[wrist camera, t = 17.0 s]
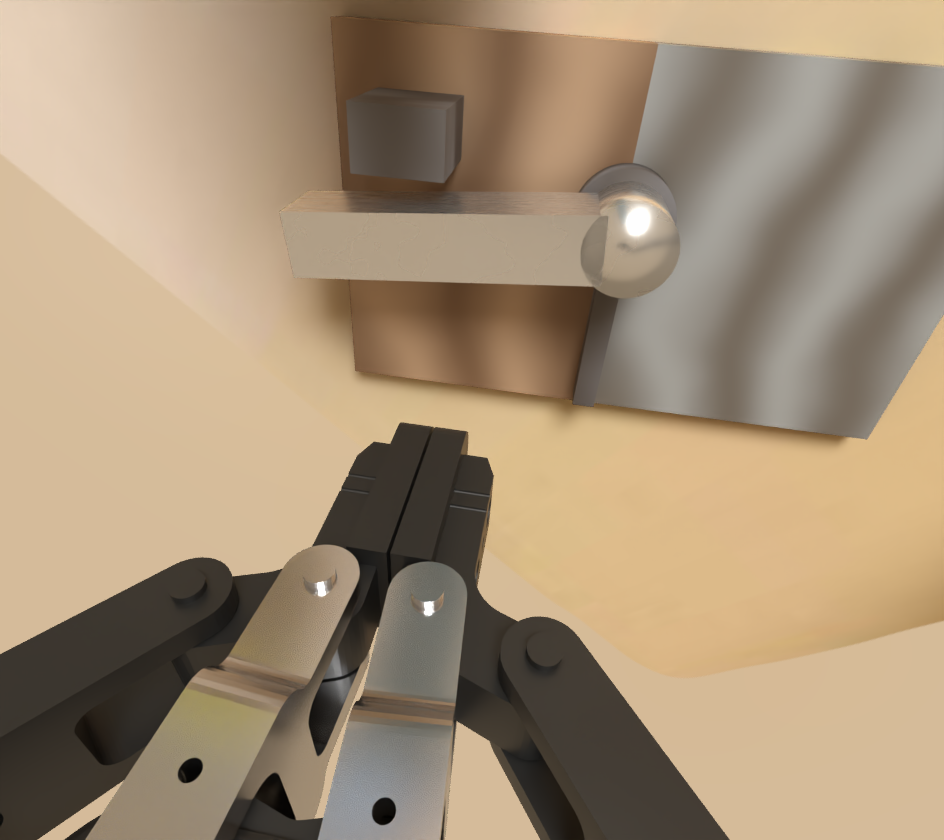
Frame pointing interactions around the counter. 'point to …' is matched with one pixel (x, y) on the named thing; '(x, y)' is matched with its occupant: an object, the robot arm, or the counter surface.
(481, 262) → the swing bar
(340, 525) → the robot arm
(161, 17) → the counter surface
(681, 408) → the lock plate
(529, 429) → the counter surface
